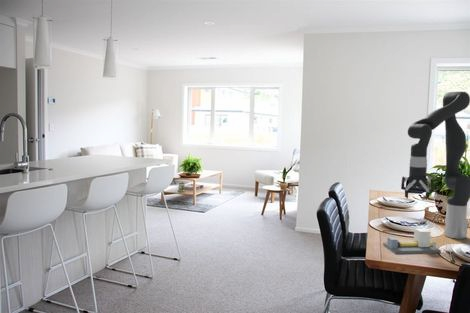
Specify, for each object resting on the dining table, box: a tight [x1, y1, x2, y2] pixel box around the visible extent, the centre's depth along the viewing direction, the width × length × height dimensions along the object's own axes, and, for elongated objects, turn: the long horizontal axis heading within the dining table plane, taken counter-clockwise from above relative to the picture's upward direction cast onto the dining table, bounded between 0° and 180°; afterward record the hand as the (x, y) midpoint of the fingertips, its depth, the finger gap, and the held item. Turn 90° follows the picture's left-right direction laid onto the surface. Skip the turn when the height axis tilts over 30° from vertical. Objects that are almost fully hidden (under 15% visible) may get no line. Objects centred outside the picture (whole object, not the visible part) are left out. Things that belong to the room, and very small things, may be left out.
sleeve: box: [413, 228, 431, 247], centre depth 193 cm, size 5×5×7 cm
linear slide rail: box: [382, 236, 442, 255], centre depth 193 cm, size 22×12×5 cm, turn 96°
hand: (416, 198), depth 198 cm, fingers open, 8 cm apart
